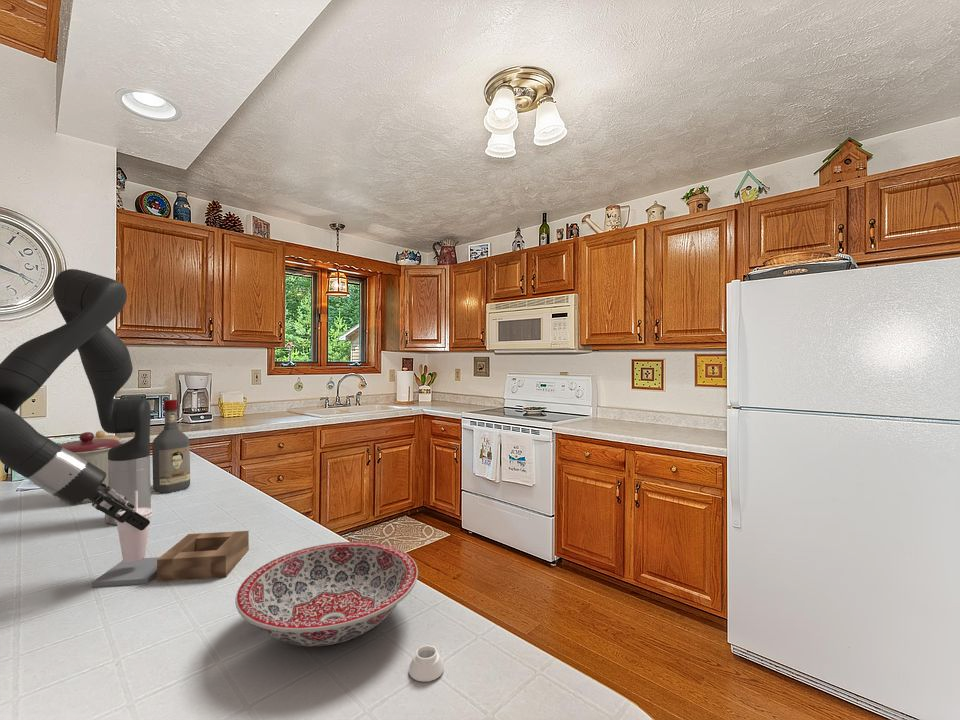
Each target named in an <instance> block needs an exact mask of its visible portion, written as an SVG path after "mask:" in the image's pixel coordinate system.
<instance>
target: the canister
mask: <svg viewBox="0 0 960 720" xmlns="http://www.w3.org/2000/svg"><path fill="white" fill-rule="evenodd" d="M94 436H95V434H94V433H93V432H91V431H90V432H89V431H87V432H82V433H80V434H79V436H78V437H79V440H73V441H67V442H63V443H60V444H59V445H60V446H61V447H62V448H65V449H67V450H69V451H71V452H73V453H75V454H77V455H79V456H80V457H82V458H83V459H85V460H86V461H88V462H90V463H91V464H93V465H94V466H96V467H98V468H99V469H101V470H102V471H104V472H105V473H106V478H105V480H104V481H103V482H102V483H104V484H106V486H109V482H108V451H109V449H111V448H112V447H115V446H117V445H120V444H123V443H124V442H122V441H120V440H118V441H117V440H114V439H93V438H94ZM59 500H60V502H62V503H64V504H67V503H66V502H64V501H63V500H61V499H59ZM86 502H88V503H91V501H90V500H89V499H85V500H83V501H82V502H81V503H80V504H86Z"/></svg>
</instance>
